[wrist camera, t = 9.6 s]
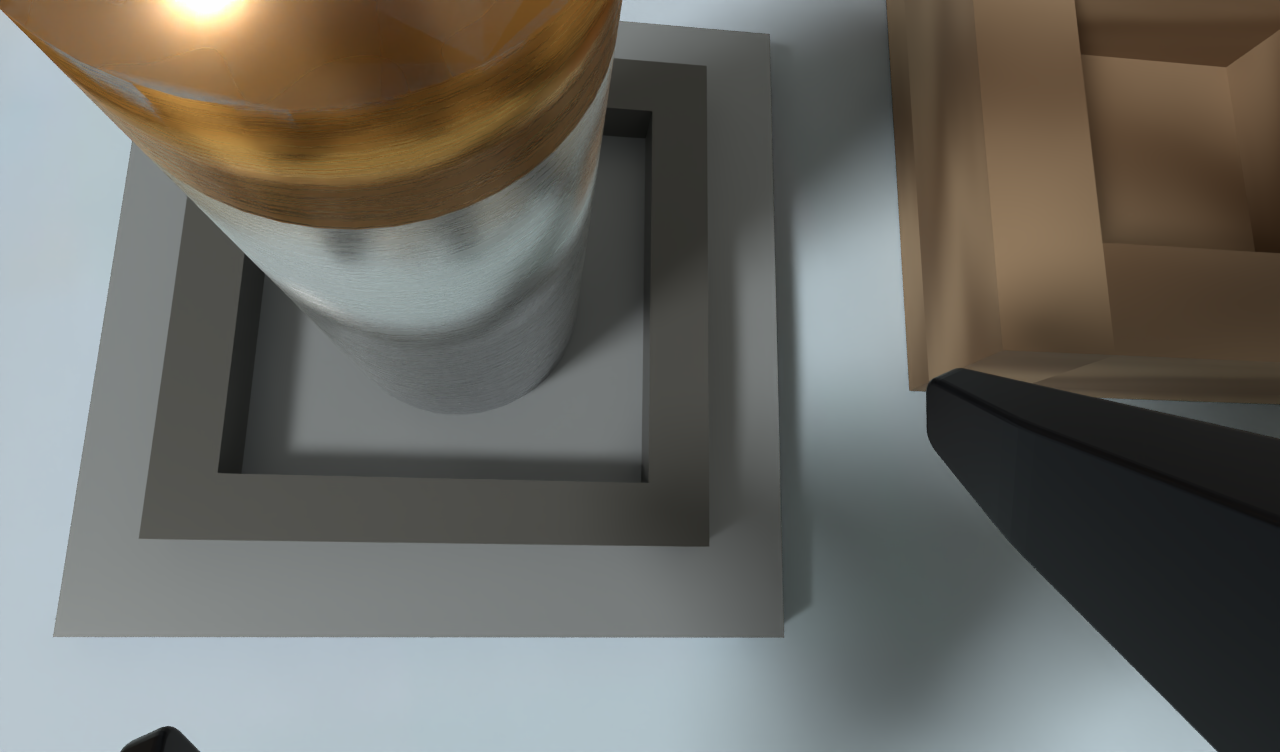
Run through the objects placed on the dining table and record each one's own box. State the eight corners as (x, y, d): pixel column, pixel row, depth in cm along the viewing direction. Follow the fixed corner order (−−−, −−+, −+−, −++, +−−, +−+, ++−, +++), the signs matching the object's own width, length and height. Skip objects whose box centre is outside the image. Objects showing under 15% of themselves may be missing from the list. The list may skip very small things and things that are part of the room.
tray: (770, 633, 18) (802, 643, 15) (82, 631, 16) (12, 643, 14) (758, 58, 21) (783, 1, 18) (177, 9, 19) (130, -59, 17)
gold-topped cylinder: (607, 373, 17) (741, 14, 6) (375, 446, 16) (-24, 197, 5) (536, 166, 18) (527, -518, 7) (312, 225, 17) (-164, -446, 6)
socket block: (1325, 406, 20) (1508, 372, 17) (909, 390, 19) (1002, 350, 15) (1259, 21, 23) (1407, -88, 19) (885, -15, 22) (961, -139, 18)
